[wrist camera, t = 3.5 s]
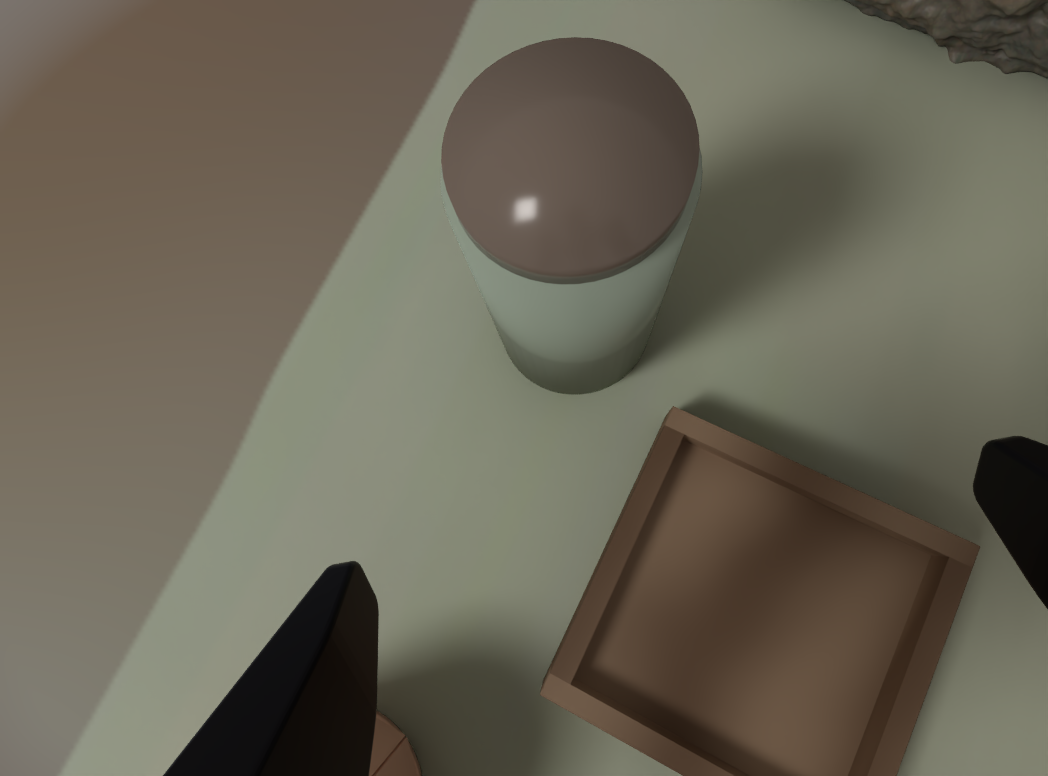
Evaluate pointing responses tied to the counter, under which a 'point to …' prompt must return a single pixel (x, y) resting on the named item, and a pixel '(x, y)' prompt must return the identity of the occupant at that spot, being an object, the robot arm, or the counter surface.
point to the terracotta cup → (392, 751)
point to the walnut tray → (758, 616)
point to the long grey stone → (976, 28)
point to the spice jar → (572, 203)
